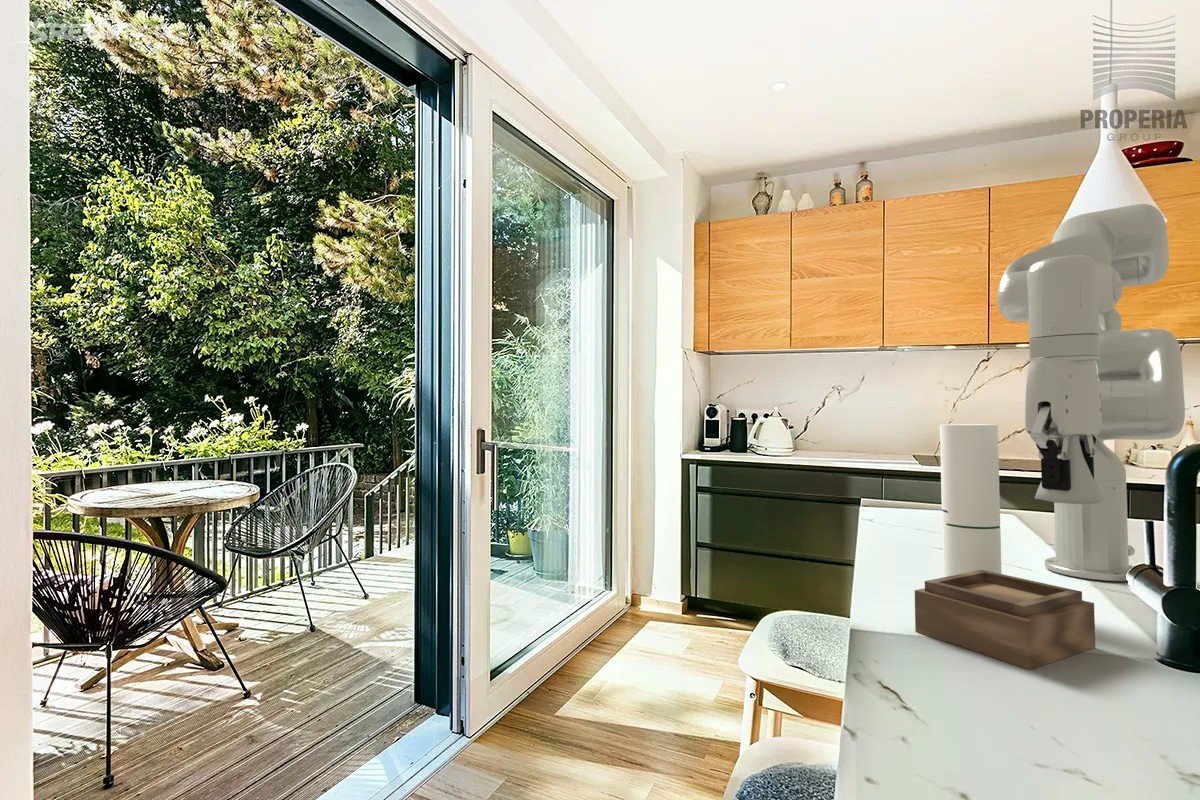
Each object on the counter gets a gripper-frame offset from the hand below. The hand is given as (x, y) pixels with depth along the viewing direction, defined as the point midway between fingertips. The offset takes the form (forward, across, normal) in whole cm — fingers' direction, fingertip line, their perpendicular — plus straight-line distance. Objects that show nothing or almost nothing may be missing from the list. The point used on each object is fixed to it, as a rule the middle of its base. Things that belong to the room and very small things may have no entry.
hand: (1068, 486), depth 82 cm
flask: (+2, 0, 0) cm, 2 cm away
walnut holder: (+16, +18, +1) cm, 24 cm away
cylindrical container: (+17, +6, -10) cm, 20 cm away
